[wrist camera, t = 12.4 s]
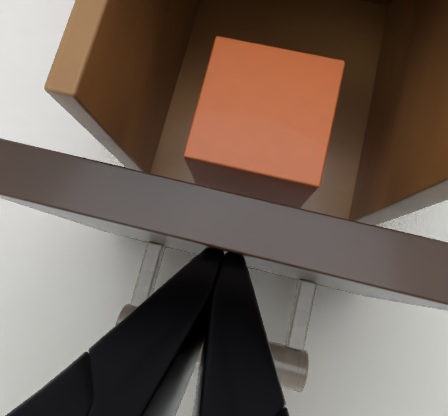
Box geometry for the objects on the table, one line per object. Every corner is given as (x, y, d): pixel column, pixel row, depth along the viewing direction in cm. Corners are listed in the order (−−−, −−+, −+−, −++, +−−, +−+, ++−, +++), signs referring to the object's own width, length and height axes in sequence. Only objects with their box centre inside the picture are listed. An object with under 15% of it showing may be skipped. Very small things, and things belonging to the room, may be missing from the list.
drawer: (349, 393, 14) (503, 559, 6) (78, 319, 15) (-113, 375, 7) (414, 15, 17) (578, -224, 9) (184, -27, 18) (139, -279, 10)
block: (297, 212, 14) (320, 187, 10) (197, 189, 15) (182, 156, 11) (316, 118, 15) (346, 60, 11) (221, 98, 16) (215, 34, 11)
